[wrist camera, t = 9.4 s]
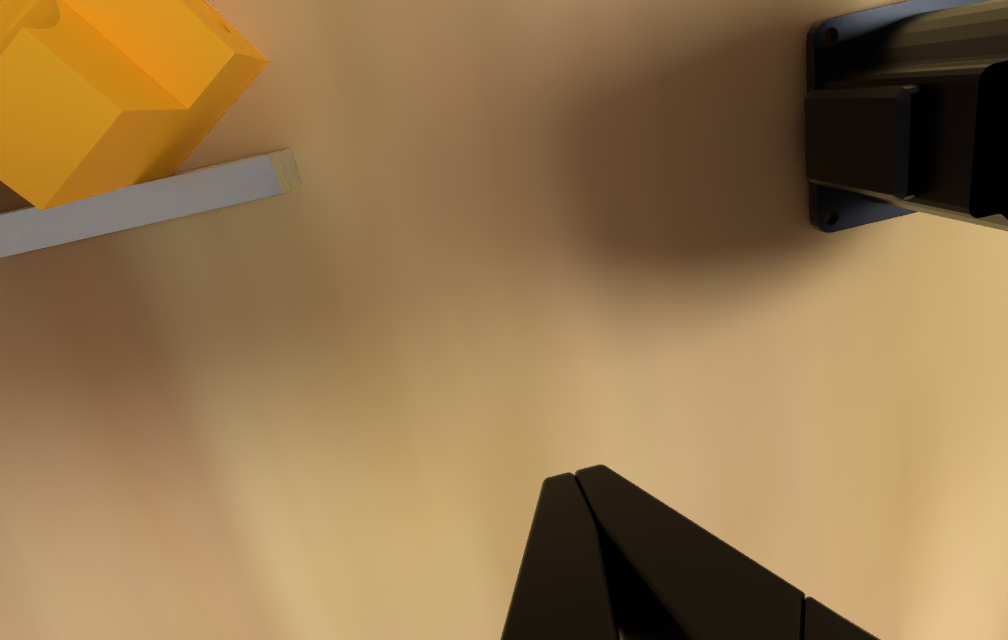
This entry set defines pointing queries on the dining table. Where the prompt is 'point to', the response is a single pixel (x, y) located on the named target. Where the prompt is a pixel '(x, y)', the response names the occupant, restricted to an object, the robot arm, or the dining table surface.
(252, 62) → the pipe clamp
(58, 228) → the rail bay
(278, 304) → the dining table surface
